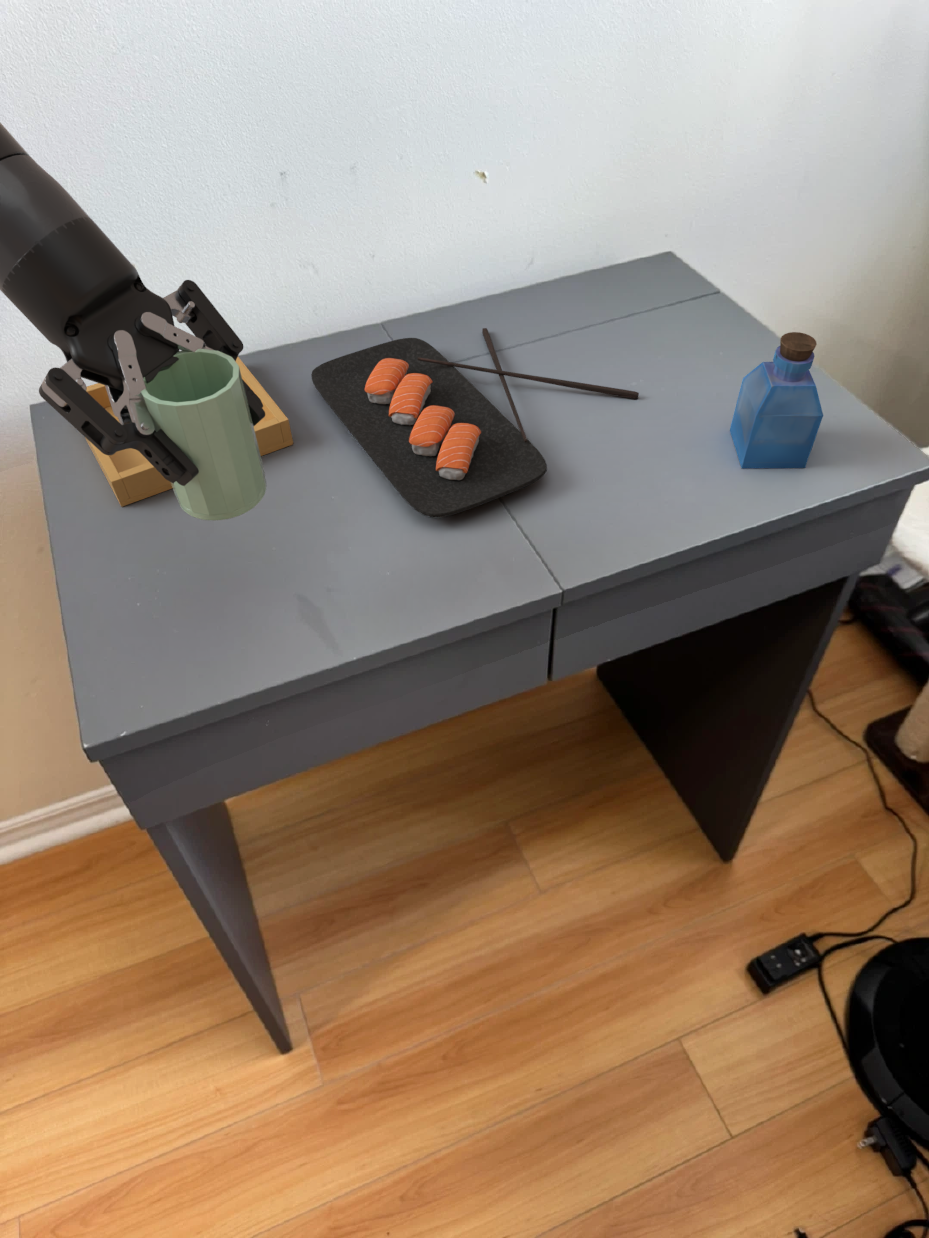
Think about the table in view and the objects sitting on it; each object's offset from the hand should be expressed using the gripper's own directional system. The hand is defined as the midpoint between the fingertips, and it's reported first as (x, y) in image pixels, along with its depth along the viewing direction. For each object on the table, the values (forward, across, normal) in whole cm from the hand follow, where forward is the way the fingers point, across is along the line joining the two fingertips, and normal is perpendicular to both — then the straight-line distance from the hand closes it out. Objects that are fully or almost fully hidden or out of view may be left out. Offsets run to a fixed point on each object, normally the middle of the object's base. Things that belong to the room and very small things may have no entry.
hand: (225, 449), depth 62 cm
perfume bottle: (+34, +41, -10) cm, 54 cm away
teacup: (+2, 0, +4) cm, 5 cm away
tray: (-5, +16, +29) cm, 33 cm away
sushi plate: (+14, +34, +10) cm, 38 cm away
